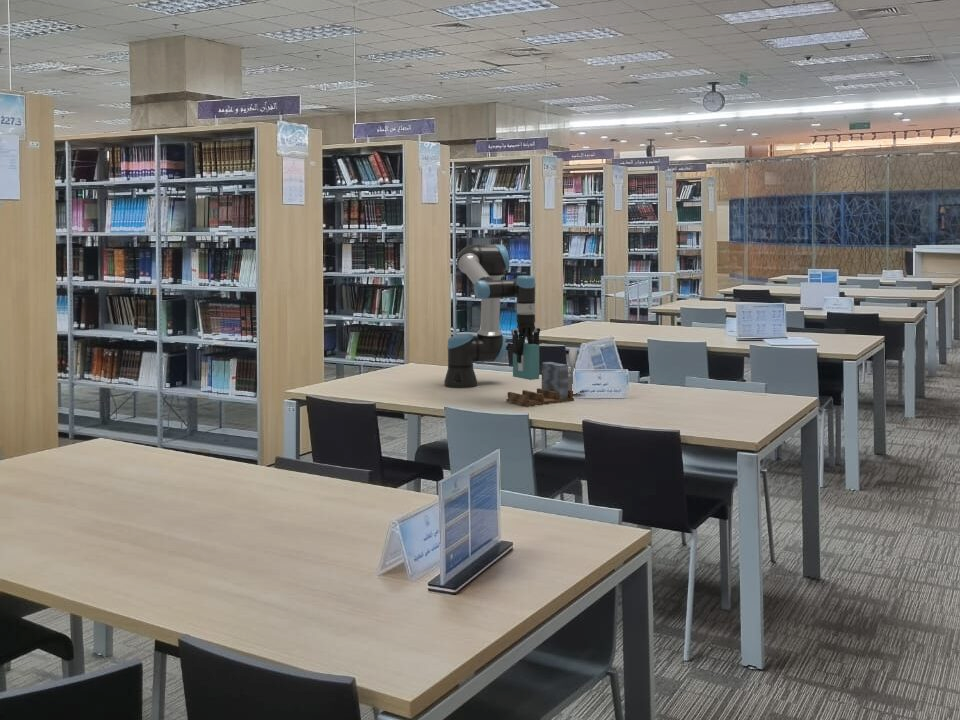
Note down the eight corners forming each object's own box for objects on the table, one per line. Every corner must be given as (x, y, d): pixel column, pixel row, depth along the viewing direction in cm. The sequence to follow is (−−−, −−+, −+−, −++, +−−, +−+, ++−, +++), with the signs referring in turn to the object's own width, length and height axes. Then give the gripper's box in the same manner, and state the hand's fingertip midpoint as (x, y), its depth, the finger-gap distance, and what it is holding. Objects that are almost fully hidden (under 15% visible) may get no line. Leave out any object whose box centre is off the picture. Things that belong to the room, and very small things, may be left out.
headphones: (582, 397, 420) (583, 350, 417) (561, 396, 421) (561, 350, 418) (584, 390, 438) (585, 345, 435) (564, 389, 439) (564, 345, 437)
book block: (512, 376, 408) (512, 343, 406) (521, 375, 410) (521, 342, 408) (530, 379, 398) (530, 345, 396) (539, 379, 400) (539, 344, 399)
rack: (506, 402, 409) (506, 365, 407) (552, 395, 423) (553, 361, 421) (526, 407, 397) (526, 369, 395) (573, 400, 412) (574, 364, 409)
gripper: (514, 315, 393) (514, 373, 396) (548, 313, 403) (548, 369, 406) (503, 314, 399) (503, 371, 402) (537, 312, 409) (537, 367, 412)
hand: (525, 370), depth 404 cm, fingers closed on book block, 4 cm apart
